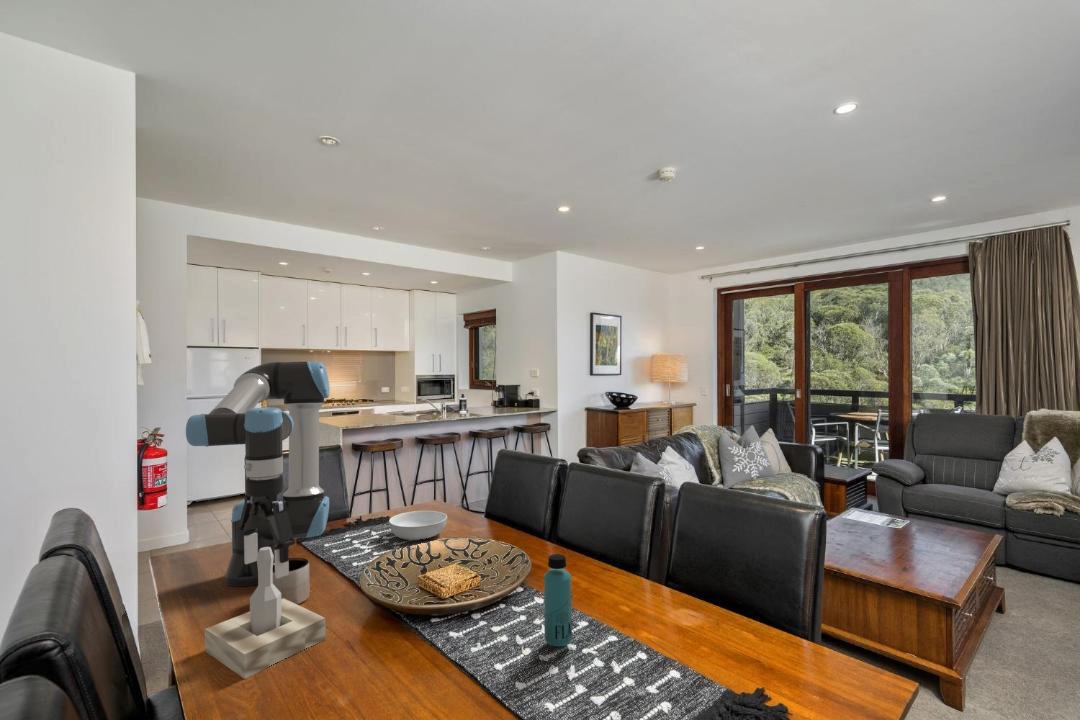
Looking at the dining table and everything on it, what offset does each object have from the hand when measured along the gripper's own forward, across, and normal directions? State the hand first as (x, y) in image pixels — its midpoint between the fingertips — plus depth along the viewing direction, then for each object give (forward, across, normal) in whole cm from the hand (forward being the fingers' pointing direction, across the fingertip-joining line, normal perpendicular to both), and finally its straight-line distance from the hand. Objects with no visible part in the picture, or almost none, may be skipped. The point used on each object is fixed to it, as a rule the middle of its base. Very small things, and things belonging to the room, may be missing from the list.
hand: (266, 569), depth 119 cm
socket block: (+17, +1, 0) cm, 17 cm away
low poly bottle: (+17, 0, 0) cm, 17 cm away
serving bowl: (+19, -27, +70) cm, 77 cm away
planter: (+18, -17, +14) cm, 29 cm away
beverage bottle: (+17, +56, +36) cm, 69 cm away
